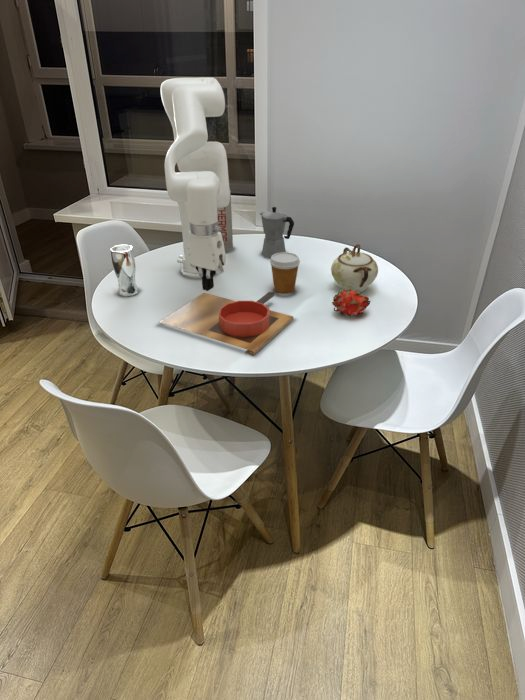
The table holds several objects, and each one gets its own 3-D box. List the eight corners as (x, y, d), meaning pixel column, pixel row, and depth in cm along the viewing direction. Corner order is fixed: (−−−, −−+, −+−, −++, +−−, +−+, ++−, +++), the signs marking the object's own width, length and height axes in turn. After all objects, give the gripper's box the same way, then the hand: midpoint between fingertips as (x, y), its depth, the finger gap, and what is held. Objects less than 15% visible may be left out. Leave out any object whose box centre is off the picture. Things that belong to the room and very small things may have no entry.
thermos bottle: (230, 253, 189) (227, 178, 174) (210, 252, 191) (205, 177, 176) (235, 246, 196) (232, 172, 181) (215, 245, 197) (210, 172, 182)
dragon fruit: (327, 318, 149) (364, 320, 151) (336, 314, 140) (376, 317, 143) (327, 290, 149) (364, 293, 152) (337, 284, 141) (376, 287, 143)
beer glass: (144, 289, 163) (137, 246, 155) (130, 298, 157) (123, 253, 149) (126, 286, 165) (119, 243, 157) (113, 294, 160) (104, 250, 152)
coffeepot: (252, 253, 189) (251, 206, 179) (267, 246, 195) (267, 200, 185) (285, 263, 181) (286, 214, 171) (300, 255, 187) (301, 208, 177)
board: (159, 325, 143) (158, 321, 142) (204, 295, 159) (204, 292, 158) (254, 355, 129) (254, 351, 128) (293, 319, 145) (293, 316, 144)
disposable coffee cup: (296, 300, 156) (297, 264, 149) (267, 297, 157) (266, 262, 151) (300, 287, 164) (302, 252, 157) (272, 285, 165) (272, 250, 159)
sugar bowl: (386, 298, 156) (392, 253, 148) (341, 303, 154) (345, 257, 146) (363, 274, 172) (367, 232, 164) (321, 277, 170) (324, 235, 162)
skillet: (210, 328, 138) (209, 316, 136) (252, 297, 155) (252, 285, 153) (252, 341, 132) (252, 329, 130) (292, 307, 149) (292, 295, 147)
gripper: (235, 228, 133) (237, 289, 143) (190, 218, 139) (195, 278, 149) (219, 237, 127) (222, 300, 138) (173, 226, 133) (179, 287, 144)
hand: (208, 288), depth 143 cm, fingers closed
